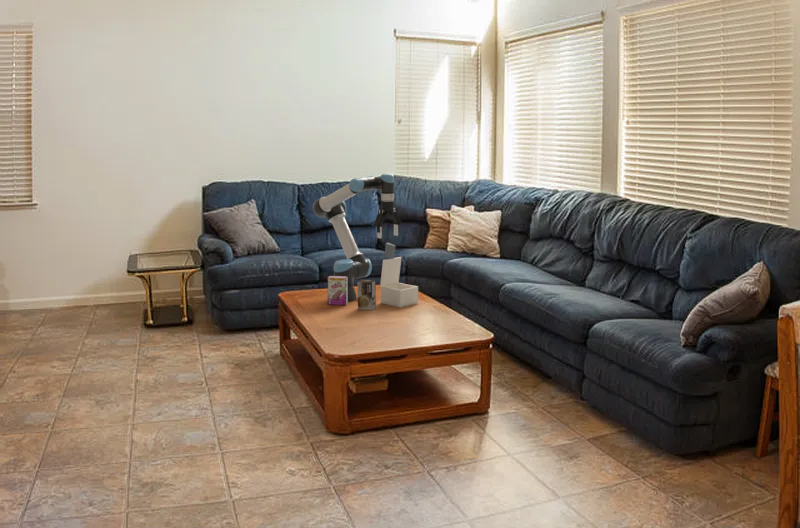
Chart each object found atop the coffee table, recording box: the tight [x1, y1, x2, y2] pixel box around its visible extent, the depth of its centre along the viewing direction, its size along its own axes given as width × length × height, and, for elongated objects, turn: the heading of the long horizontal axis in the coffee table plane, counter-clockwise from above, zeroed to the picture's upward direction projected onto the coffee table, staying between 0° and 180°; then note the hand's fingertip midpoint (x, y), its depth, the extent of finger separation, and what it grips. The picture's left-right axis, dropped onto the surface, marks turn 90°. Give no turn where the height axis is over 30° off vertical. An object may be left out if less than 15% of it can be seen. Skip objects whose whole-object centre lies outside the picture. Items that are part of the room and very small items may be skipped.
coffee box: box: [356, 279, 377, 311], centre depth 442 cm, size 9×6×16 cm
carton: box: [380, 282, 419, 308], centre depth 456 cm, size 16×15×10 cm
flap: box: [379, 242, 402, 287], centre depth 459 cm, size 24×15×6 cm
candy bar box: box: [327, 275, 349, 306], centre depth 453 cm, size 11×5×16 cm, turn 84°
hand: (387, 236), depth 456 cm, fingers open, 13 cm apart
